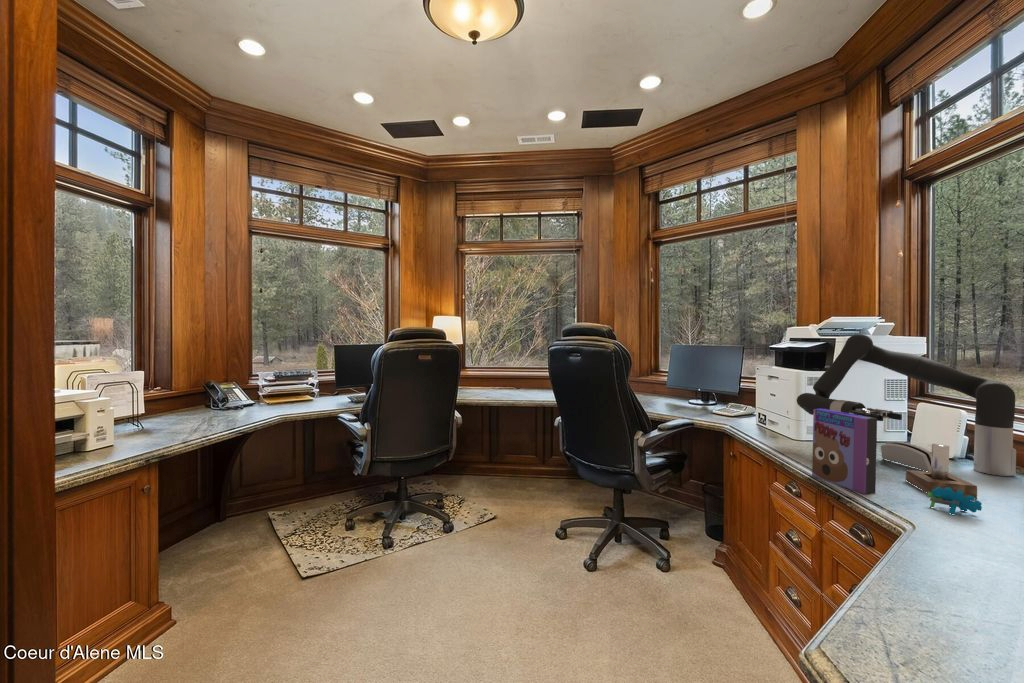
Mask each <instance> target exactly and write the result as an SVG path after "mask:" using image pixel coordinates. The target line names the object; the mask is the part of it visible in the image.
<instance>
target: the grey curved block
mask: <svg viewBox="0 0 1024 683" xmlns="http://www.w3.org/2000/svg"><path fill="white" fill-rule="evenodd" d="M880 452H881V459H882V458H883V459H887V460H890V461H894V462H898V463H901V464H904V465H908V466H911V467H915V468H918V469H921V470H924V471H928V472H931V452H930V451H929V450H927V449H925V448H923V447H920V446H917V445H916V444H911V443H907V442H904V441H886V442H885V443H883V444H881V445H880ZM921 470H920V471H921Z"/></svg>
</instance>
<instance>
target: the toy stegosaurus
mask: <svg viewBox="0 0 1024 683" xmlns="http://www.w3.org/2000/svg"><path fill="white" fill-rule="evenodd" d="M963 493H964V492H963V491H960V490H957V492H956V493H955V492H954V491H953V490H952V489H951V488H950V487H945V490H944V489H942V488H941V487H937V488H936V490H935V489H932V492H928V494H927V493H926V497H927V498H930V499H929V501H930V502H931V503H930V506H929V508H930V507H934V508H935V504H939V505H946V506H948V507H949V508H950V507H951V508H950V509H949V511H948V514H949V513H951V514H954V515H955V512H956V510H957V508H958V509H960V511H961V510H964V511H967V512H968V511H970V512H972V513H977V511H980V512H981V511H982V508H983V507H982V505H983V504H982V502H981V501H980V500H976V499H975V497H973V496H971V495H968V497H965V496H963ZM964 511H963V512H964Z"/></svg>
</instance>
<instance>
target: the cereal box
mask: <svg viewBox="0 0 1024 683" xmlns="http://www.w3.org/2000/svg"><path fill="white" fill-rule="evenodd" d="M812 416H813V417H812V419H813V420H812V421H813V423H812V425H813V426H812V427H813V428H812V466H811V468H812V471H811V472H812V473H811V476H812V477H814V478H816V479H819V480H822V481H825V482H827V483H831V484H833V485H836V486H839V487H841V488H844V489H847V490H850V491H853V492H856V493H858V494H862V495H872V494H871V493H873V494H876V485H877V481H876V480H877V479H876V478H877V441H878V440H877V439H878V433H877V432H878V421H877V418H871V417H866V416H860V415H855V414H850V413H844V412H839V411H833V410H828V409H814V411H813V415H812Z"/></svg>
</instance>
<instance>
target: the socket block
mask: <svg viewBox="0 0 1024 683" xmlns="http://www.w3.org/2000/svg"><path fill="white" fill-rule="evenodd" d="M906 480H907V481H908V482H910V483H911V484H913V485H915V486H917V487H918V488H920V489H922V490H923V491H925V492H927V493H928V492H932V489H935V490H936V488H937V487H941V488H942V489H944V490H945V487H950V488H951V489H952V490H953V491H954V492H955V493H956V492H957V490H960V491H963V492H964V493H963V496H965V497H968V495H971V496H973V497H975V499H974V500H977V499H978V485H976V484H975V483H972V482H969V481H967V480H966V479H963V478H961V477H959V476H957V475H955V474H952V473H950V472H948V481H945V480H934V479H932V478H931V472H926V471H921V470H915V469H913V470H912V469H906V470H905V481H906ZM908 482H907V483H908ZM911 484H910V485H911ZM913 485H912V486H913ZM915 486H914V487H915ZM918 488H917V489H918ZM920 489H919V490H920ZM922 490H921V491H922ZM923 491H922V492H923ZM925 492H924V493H925ZM927 493H926V494H927Z"/></svg>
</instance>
